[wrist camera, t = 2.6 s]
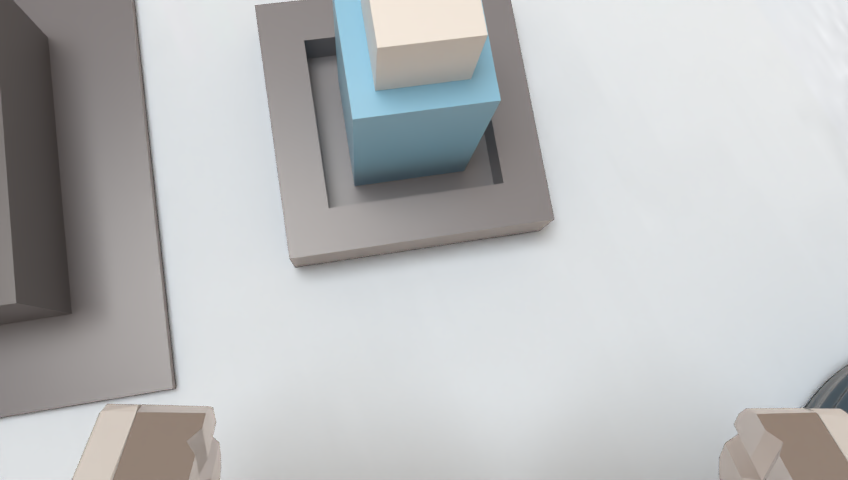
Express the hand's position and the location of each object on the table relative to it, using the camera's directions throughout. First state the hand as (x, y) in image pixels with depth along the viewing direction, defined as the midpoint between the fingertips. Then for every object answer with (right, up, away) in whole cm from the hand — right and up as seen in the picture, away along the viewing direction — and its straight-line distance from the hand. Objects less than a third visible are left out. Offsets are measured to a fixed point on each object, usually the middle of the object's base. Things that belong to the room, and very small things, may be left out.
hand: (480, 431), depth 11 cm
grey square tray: (-2, +7, +16) cm, 17 cm away
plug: (-2, +7, +15) cm, 17 cm away
